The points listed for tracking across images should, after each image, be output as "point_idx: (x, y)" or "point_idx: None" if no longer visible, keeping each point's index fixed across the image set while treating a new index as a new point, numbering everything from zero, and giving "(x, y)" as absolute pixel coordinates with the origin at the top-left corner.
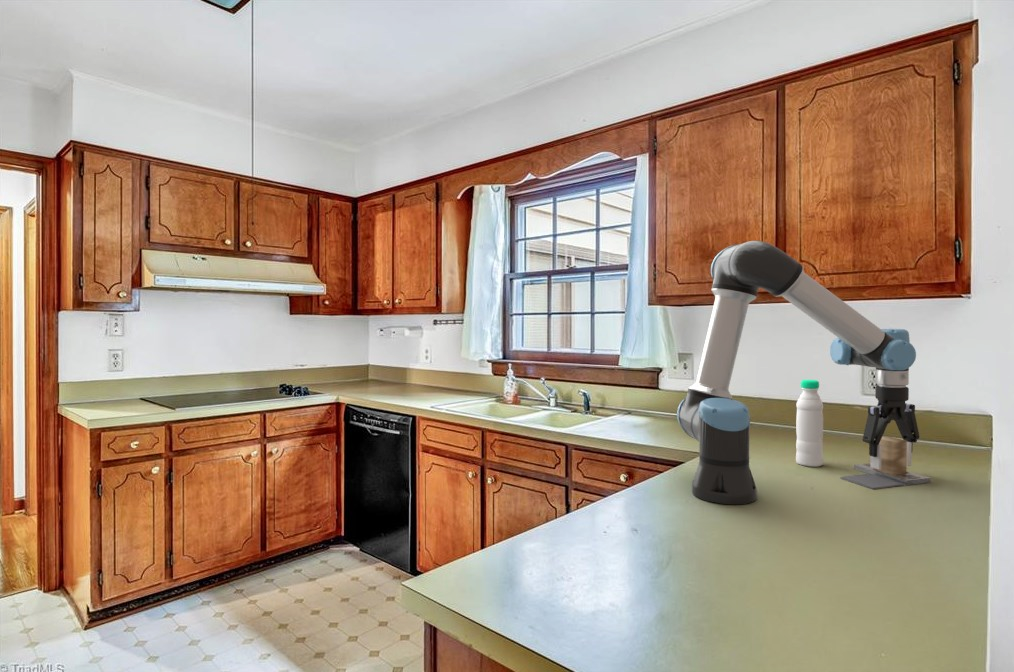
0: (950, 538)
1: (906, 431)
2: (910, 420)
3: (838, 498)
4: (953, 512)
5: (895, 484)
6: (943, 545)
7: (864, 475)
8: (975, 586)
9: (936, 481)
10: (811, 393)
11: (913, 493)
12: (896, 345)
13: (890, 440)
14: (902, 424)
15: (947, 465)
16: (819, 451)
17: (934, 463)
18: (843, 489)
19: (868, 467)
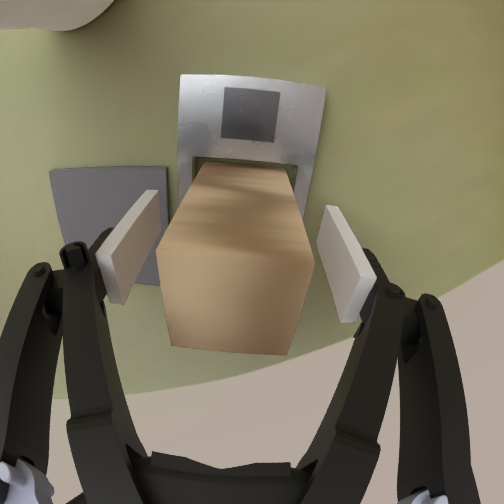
0: None
1: (340, 379)
2: (410, 432)
3: (5, 275)
4: (137, 375)
5: (147, 280)
6: (63, 384)
7: (126, 181)
8: (52, 398)
9: (309, 293)
10: None
11: (147, 320)
12: None
13: (196, 326)
14: (321, 426)
15: (496, 215)
16: (41, 22)
17: (498, 186)
18: (23, 244)
19: (201, 132)
